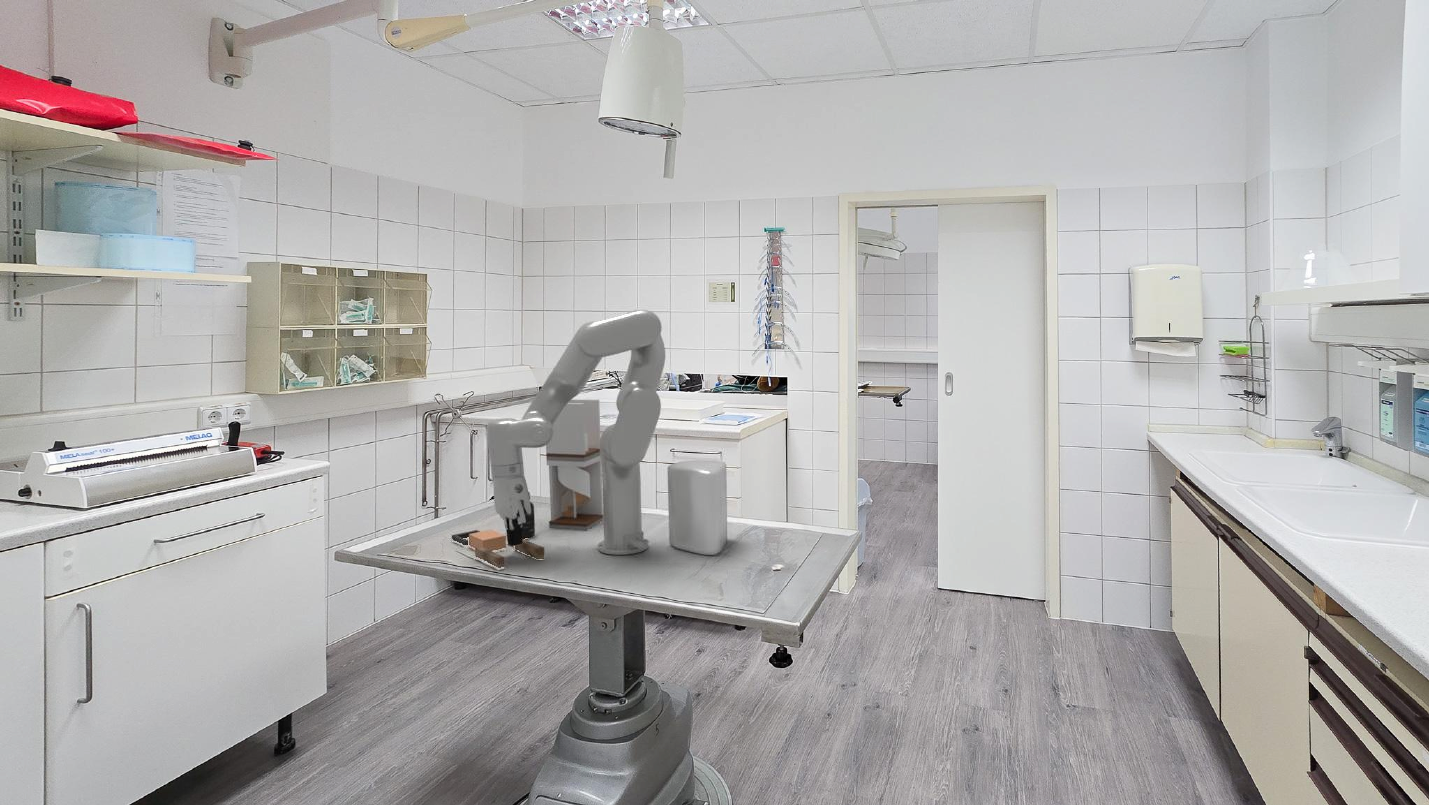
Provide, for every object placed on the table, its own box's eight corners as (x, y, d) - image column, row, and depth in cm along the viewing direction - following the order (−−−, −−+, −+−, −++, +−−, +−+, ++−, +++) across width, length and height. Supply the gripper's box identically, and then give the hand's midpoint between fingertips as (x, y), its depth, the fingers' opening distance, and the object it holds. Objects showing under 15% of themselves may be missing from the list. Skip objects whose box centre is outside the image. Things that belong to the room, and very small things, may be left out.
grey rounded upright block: (718, 556, 191) (716, 467, 188) (661, 554, 194) (659, 466, 191) (729, 539, 206) (728, 456, 203) (676, 537, 208) (674, 455, 206)
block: (506, 551, 199) (505, 535, 199) (483, 556, 195) (483, 540, 195) (491, 544, 205) (490, 529, 205) (469, 549, 201) (468, 534, 201)
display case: (549, 528, 219) (544, 403, 215) (567, 518, 229) (562, 399, 225) (586, 531, 216) (582, 403, 212) (603, 521, 226) (599, 399, 222)
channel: (544, 559, 191) (544, 547, 191) (498, 571, 183) (498, 558, 183) (520, 549, 200) (519, 537, 199) (475, 559, 192) (475, 547, 191)
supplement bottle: (503, 538, 210) (501, 494, 208) (521, 532, 216) (519, 489, 214) (523, 541, 206) (521, 496, 205) (540, 535, 212) (538, 491, 211)
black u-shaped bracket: (490, 542, 206) (490, 535, 206) (465, 548, 201) (465, 541, 201) (477, 536, 212) (476, 530, 212) (452, 541, 207) (451, 535, 207)
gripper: (537, 470, 186) (544, 546, 188) (507, 464, 197) (514, 535, 199) (508, 477, 181) (516, 554, 183) (478, 469, 192) (486, 542, 194)
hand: (515, 544), depth 191 cm, fingers closed
